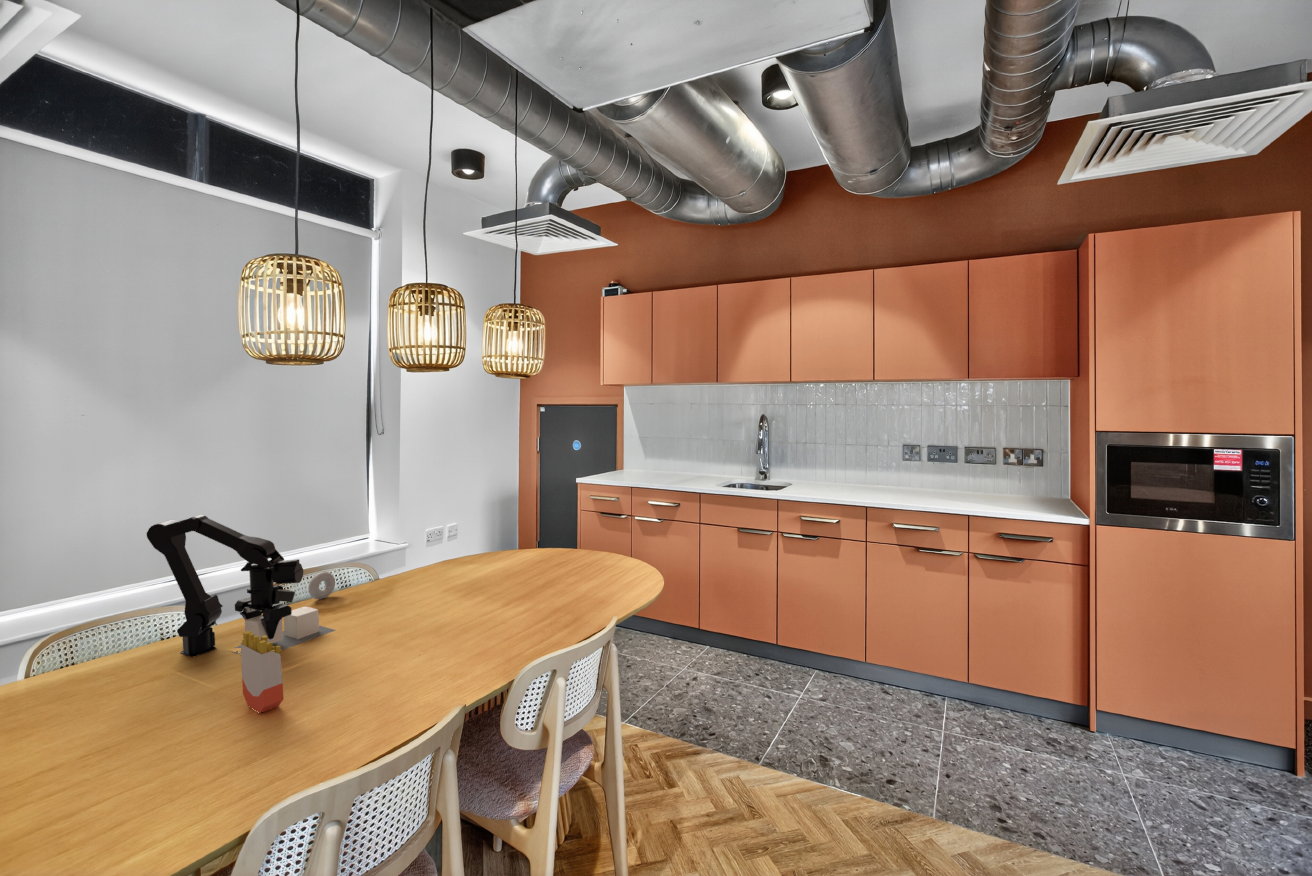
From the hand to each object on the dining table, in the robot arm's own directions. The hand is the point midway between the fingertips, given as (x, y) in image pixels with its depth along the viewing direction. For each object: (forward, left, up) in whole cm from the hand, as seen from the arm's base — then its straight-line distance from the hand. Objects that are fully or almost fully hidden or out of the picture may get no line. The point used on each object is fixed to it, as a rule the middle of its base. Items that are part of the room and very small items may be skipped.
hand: (264, 636), depth 173 cm
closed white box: (+11, 0, -3) cm, 11 cm away
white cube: (0, 0, -2) cm, 2 cm away
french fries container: (-19, -35, -4) cm, 40 cm away
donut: (+35, +26, -4) cm, 43 cm away
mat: (+6, 0, -3) cm, 6 cm away
